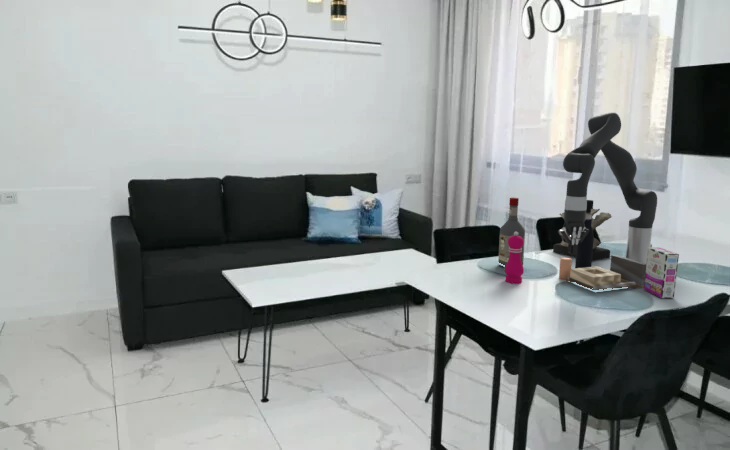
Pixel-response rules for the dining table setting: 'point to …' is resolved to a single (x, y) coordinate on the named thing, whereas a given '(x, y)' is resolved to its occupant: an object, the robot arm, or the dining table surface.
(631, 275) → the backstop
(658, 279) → the candy bar box
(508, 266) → the pepper mill
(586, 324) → the dining table surface
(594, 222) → the coral
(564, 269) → the dowel
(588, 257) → the wine bottle
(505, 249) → the liquor
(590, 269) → the socket block
